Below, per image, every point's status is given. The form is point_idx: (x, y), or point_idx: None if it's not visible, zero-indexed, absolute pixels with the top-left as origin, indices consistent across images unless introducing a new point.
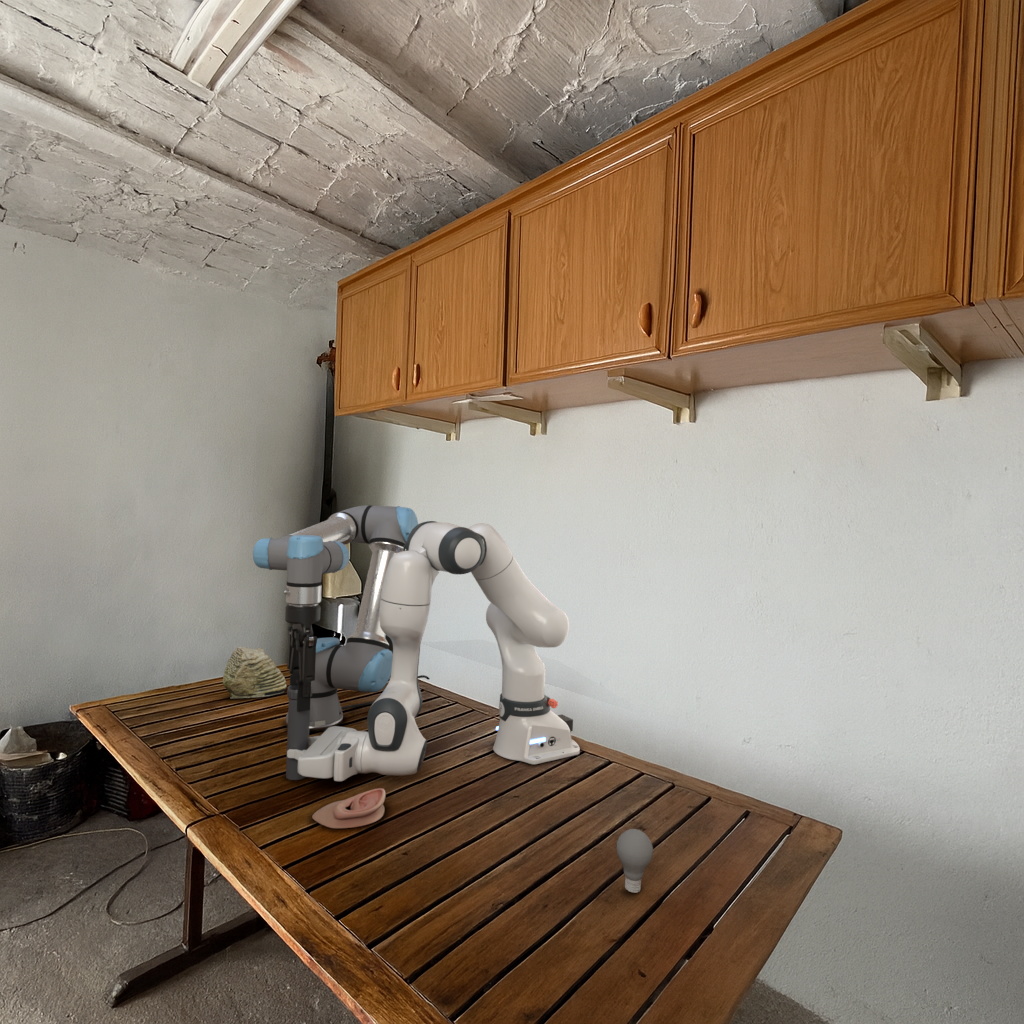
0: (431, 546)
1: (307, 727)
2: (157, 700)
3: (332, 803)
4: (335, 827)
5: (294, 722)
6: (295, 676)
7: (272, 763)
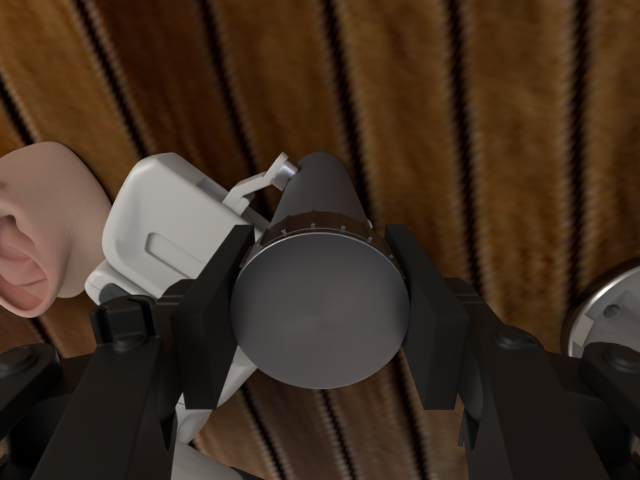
0: None
1: None
2: None
3: (74, 201)
4: None
5: (282, 202)
6: (427, 346)
7: (436, 144)
